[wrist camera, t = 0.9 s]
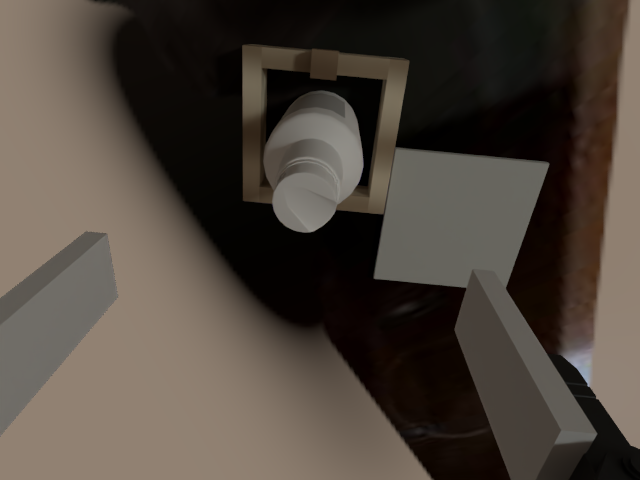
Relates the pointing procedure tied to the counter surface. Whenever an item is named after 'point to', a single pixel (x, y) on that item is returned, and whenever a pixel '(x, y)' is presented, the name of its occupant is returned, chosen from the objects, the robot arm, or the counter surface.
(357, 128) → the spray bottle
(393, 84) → the wooden square frame
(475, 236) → the mat
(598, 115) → the counter surface
